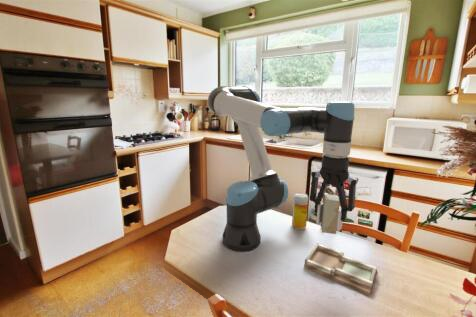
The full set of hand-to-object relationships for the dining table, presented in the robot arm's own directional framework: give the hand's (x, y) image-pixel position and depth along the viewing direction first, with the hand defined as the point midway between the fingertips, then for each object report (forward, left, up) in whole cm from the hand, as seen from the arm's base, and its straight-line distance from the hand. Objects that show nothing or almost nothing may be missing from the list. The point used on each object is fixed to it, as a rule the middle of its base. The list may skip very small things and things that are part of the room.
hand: (328, 225), depth 79 cm
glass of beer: (-18, +21, -16) cm, 32 cm away
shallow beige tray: (+4, +3, -16) cm, 17 cm away
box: (0, 0, -2) cm, 2 cm away
